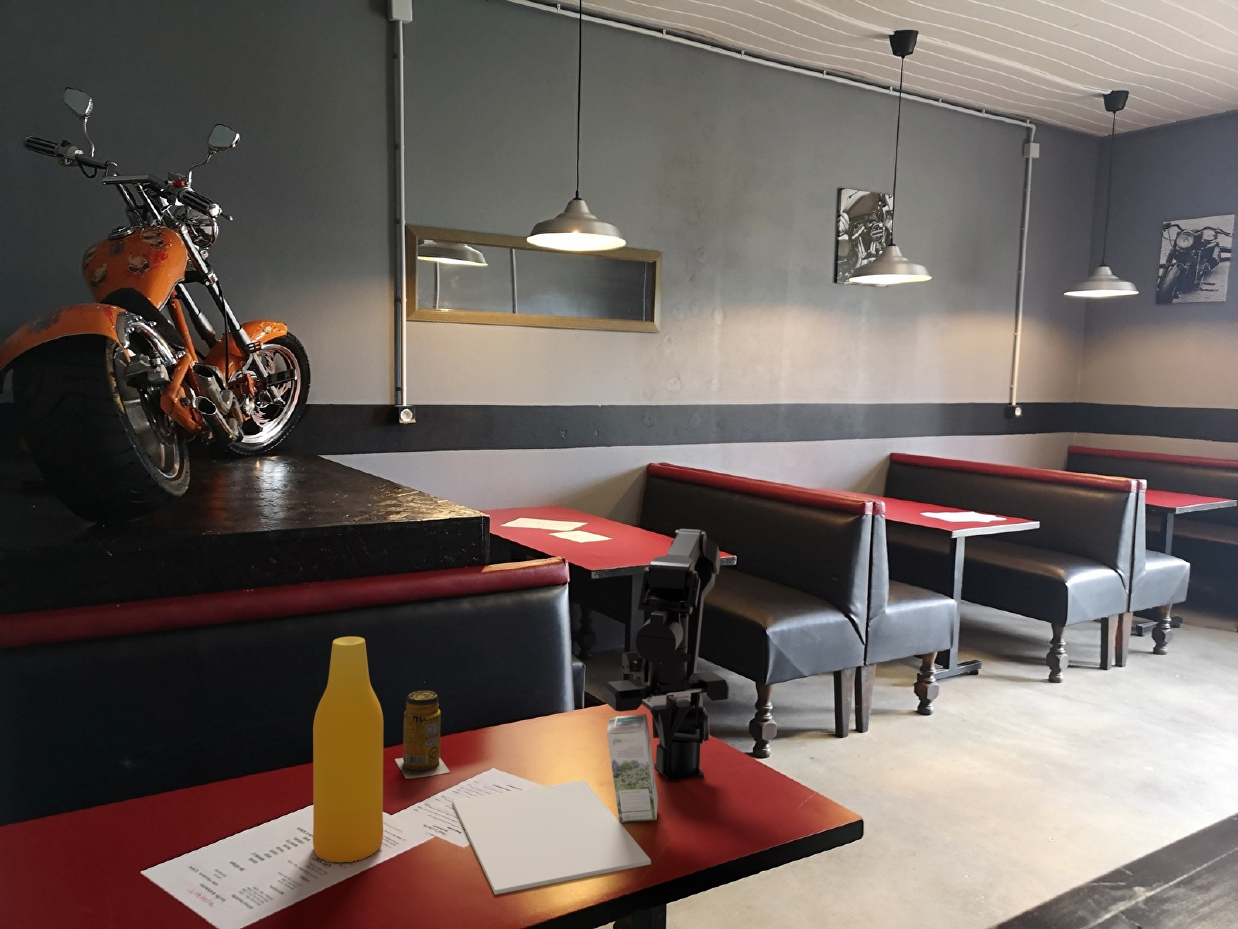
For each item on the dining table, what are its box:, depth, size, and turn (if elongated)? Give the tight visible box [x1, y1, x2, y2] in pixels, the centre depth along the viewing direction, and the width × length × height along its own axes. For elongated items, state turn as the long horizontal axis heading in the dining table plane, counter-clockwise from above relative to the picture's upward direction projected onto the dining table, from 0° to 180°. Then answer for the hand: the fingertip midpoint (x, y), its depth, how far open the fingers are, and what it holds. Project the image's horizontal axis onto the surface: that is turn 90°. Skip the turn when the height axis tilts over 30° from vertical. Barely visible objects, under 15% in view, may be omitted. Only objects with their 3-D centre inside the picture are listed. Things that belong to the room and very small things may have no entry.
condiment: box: [394, 690, 451, 779], centre depth 148 cm, size 7×8×12 cm
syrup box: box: [606, 713, 659, 824], centre depth 132 cm, size 6×6×14 cm
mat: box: [451, 779, 652, 895], centre depth 128 cm, size 22×26×1 cm
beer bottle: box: [312, 636, 384, 863], centre depth 121 cm, size 9×9×29 cm
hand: (664, 746), depth 134 cm, fingers closed
